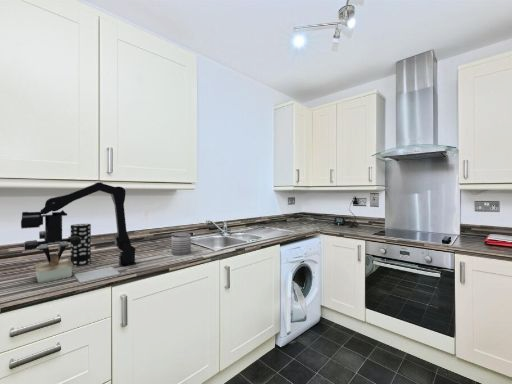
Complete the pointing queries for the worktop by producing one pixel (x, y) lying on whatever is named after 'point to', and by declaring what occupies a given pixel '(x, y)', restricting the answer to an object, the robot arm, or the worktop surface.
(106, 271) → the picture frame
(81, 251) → the white-spotted black cylinder
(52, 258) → the cover
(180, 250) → the can
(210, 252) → the worktop surface
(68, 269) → the dish
